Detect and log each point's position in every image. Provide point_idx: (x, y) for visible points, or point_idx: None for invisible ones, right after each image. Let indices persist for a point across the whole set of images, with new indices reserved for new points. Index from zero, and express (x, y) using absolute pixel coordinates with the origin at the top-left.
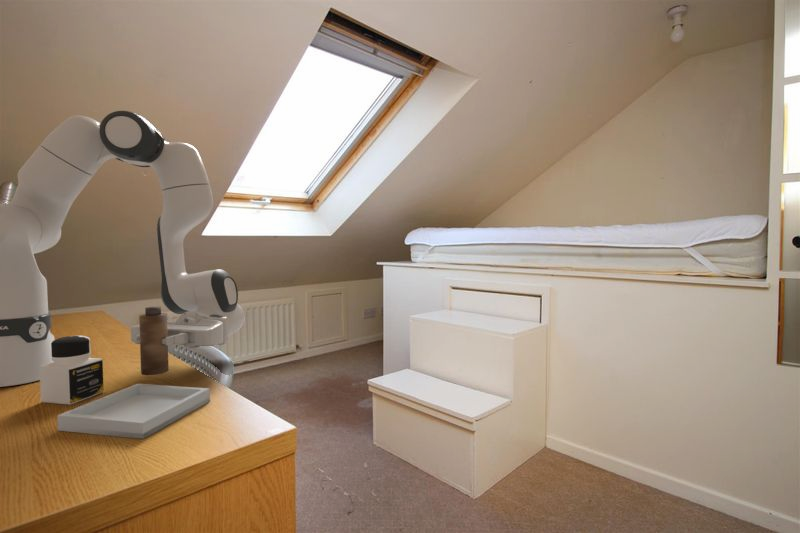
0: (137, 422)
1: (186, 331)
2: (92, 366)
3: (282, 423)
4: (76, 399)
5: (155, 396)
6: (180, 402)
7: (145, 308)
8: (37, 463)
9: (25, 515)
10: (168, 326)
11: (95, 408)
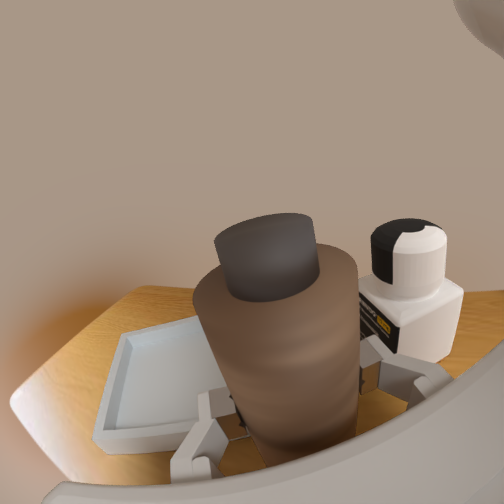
0: (128, 332)
1: (175, 484)
2: (379, 318)
3: (11, 407)
4: None
5: None
6: (109, 381)
7: (277, 214)
8: (192, 299)
9: (140, 289)
10: (397, 470)
11: None
